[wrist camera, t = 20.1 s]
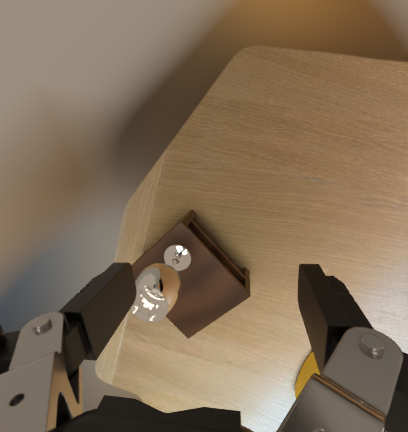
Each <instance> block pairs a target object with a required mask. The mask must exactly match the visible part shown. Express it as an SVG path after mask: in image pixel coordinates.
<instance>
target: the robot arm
mask: <svg viewBox="0 0 408 432" xmlns="http://www.w3.org/2000/svg"><path fill="white" fill-rule="evenodd" d="M136 294H137V290H136V285H135V280H134V275H133V270H132V266H131V264H130V263H113V264H112V265H111V266H110V267H109V268H108V269H107V270H106V271H105V272H103V273H102V274H100V275H98V276H97V277H95V278H93V279H92V280H91V281H90V282H89V283H88V284H87V285H86V287H84V288H83V289H82V290H81V291H80V293H77V294H76V295H75V296H74V297H73V298H72V299H71V300H70V301H69V302H68V303H67V304H66V305H65V306H64V307H63V308H62V309H61V310H60V311H59V312H50V313H46V314H43V315H41V316H38V317H36V318H35V319H33V320H32V321H30V322H29V323H27V324H26V325H25V326H24V327H23V328H22V330H20V331H15V332H10V333H4V331H3V329H2V327H1V325H0V432H253V431H251V430H250V429H248V428H246V427H244V426H242V425H241V414H240V411H233V410H225V409H216V408H208V407H201V408H196V409H190V410H184V411H178V412H172V413H164V412H161V411H159V410H157V409H155V408H153V407H151V406H149V405H147V404H145V403H142V402H140V401H138V400H136V399H132V398H123V397H115V396H106V395H104V397H103V399H102V401H101V403H100V404H99V406H98V408H97V409H94V410H90V411H87V412H84V413H83V391H82V390H83V389H82V368H81V366H80V364H81V363H82V361H83V360H84V359H86V360H97V358H98V357H99V355H100V354H101V352H102V351H103V349H104V348H105V346H106V345H107V343H108V341H109V340H110V338H111V337H112V335H113V334H114V332H115V331H116V329H117V328H118V326H119V325H120V323H121V322H122V320H123V319H124V317H125V316H126V314H127V312H128V311H129V309H130V308H131V306H132V305H133V303H134V302H135V299H136ZM298 304H299V309H300V312H301V315H302V318H303V322H304V325H305V328H306V331H307V334H308V338H309V341H310V344H311V347H312V350H313V354H314V357H315V360H316V363H317V366H318V370H319V373H320V375H318V374H317V373H314V374H312V375H311V377H310V378H309V380H308V381H307V383H306V384H305V386H304V388H303V389H302V391H301V393H300V394H299V396H298V397H297V399H296V401H295V402H294V404H293V406H292V407H291V409H290V410H289V412H288V414H287V415H286V417H285V419H284V420H283V422H282V423H281V425H280V427H279V428H278V430H277V432H408V354H406V353H404V352H402V351H401V349H400V348H399V346H398V345H397V344H396V343H395V342H394V341H393V340H392V339H391V338H389V337H388V336H386V335H385V334H383V333H381V332H379V331H376V330H374V329H373V327H372V326H371V324H370V323H369V321H368V320H367V318H366V317H365V315H364V314H363V312H362V311H361V309H360V308H359V306H358V304H357V303H356V302H355V301H354V298H353V297H352V295H351V294H350V293H349V291H348V289H347V288H346V286H345V285H344V283H342V282H341V281H340V280H338V279H337V278H335V277H334V276H325V274H324V272H323V270H322V269H321V267H320V265H319V264H300V265H299V278H298Z"/></svg>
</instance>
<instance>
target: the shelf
mask: <svg viewBox="0 0 408 432" xmlns="http://www.w3.org/2000/svg"><path fill="white" fill-rule="evenodd" d="M195 216H196V214H195V213H194V211H193V210H191V211H190V212H189V213H188V214H187V215H186V216H185V217H184V218H183V219H182V220H181V221H180V222H179V223H178V224H177V225H175V226H174V227H173V228H172V229H171V230H170V231H169V232H168V233H167V234H165V235H164V236H163V237H162V238H161V239H160V240H159V241H158V242H157V243H155V244H154V245H153V246H152V247H151V248H150V249H149V250H148V251H146V252H145V253H143V254H142V255H141V256H140V257H139V258H138V259H137V260H136V262H135V263H134V264H133V265H132V270H133V275H134V280H136V278H137V277H138V275H139V274H140V273H141V272H142V271H143V270H144V269H145V268H146V267H148V266H149V265H152V264H155V263H165V261H164V253H165V250H166V249H167V248H168V247H169V246H172V245H181V246H183V247H185V248H186V249H187V250H188V251H189V253H190V255H191V263H190V265H189V266H188V268H186V269H185V270H182V271H178V272H179V274H180V276H181V278H182V284H183V288H182V293H181V296H180V298H179V300H178V302H177V304H176V305H175V307H174V308H173V309H172V310H171V311H170V313H169V314H168V315H167V316H166V317H167V318H168V319H169V320H170V321H171V322H172V323H173V324H174V325H175V326H176V327H177V328H178V329H179V330H180V331H181V332H182V333H183V334H184V335H185V336H186V337H187V338H190V337H191V336H193V335H194V334H196V333H197V332H199V331H200V330H202V329H203V328H205V327H206V326H207V325H209V324H210V323H212V322H213V321H215V320H216V319H218V318H219V317H221V316H222V315H224V314H225V313H227V312H228V311H229V310H231V309H232V308H234V307H235V306H237V305H238V304H240V303H241V302H243V301H244V300H246V299H247V298H249V297H250V276H249V271H248V270H247V269H246V268H244V269H242V270H241V271H240V270H239V269H238V268H237V267H236V266H235V265H234V264H233V263H232V262H231V261H230V260H229V259H228V258H227V256H226V255H225V254H224V253H223V252H222V251H221V250H220V249H219V248H218V247H217V246H216V245H215V244H214V242H213V241H212V240H211V239H210V238H209V237H208V236H207V235H206V234H205V233H204V232H203V231H202V230H201V228H200V227H199V226H198V225H197V224H196V223H195V222H194V221H193V220H192V219H193V218H194V217H195Z"/></svg>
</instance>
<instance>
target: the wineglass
mask: <svg viewBox="0 0 408 432" xmlns="http://www.w3.org/2000/svg"><path fill="white" fill-rule="evenodd" d="M164 261H165V263H155V264H152V265H149V266H148V267H146V268H145V269H144V270H143V271H142V272H141V273H140V274H139V275H138V277H137V278H136V280H135V285H136V290H137V294H136V299H135V302H134V303H133V305H132V306H131V308H130V309H131V311H132V313H133V314H134V315H135V316H136V317H137V318H139V319H141V320H142V321H145V322H151V323H154V322H158V321H160V320H162V319H163V318H164V317H166V316H167V315H168V314H169V313H170V311H171V310H172V309H173V308H174V307H175V305H176V304H177V302H178V300H179V298H180V296H181V293H182V288H183V284H182V278H181V276H180V274H179V272H178V271H182V270H185V269H186V268H188V266H189V265H190V263H191V255H190V253H189V251H188V250H187V249H186V248H185V247H183V246H181V245H172V246H169V247H168V248H167V249H166V250H165V253H164Z"/></svg>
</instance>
